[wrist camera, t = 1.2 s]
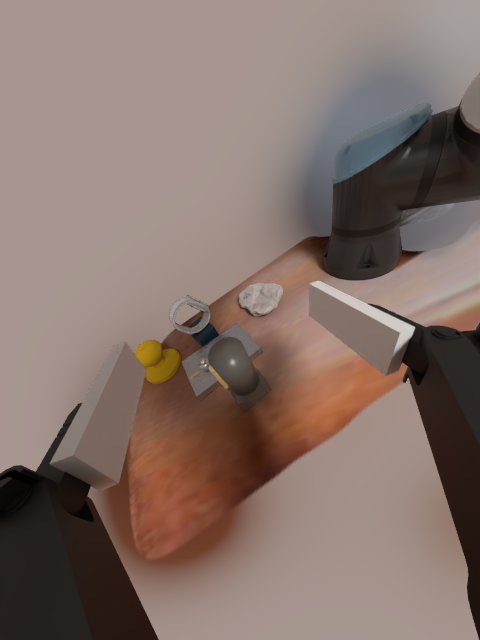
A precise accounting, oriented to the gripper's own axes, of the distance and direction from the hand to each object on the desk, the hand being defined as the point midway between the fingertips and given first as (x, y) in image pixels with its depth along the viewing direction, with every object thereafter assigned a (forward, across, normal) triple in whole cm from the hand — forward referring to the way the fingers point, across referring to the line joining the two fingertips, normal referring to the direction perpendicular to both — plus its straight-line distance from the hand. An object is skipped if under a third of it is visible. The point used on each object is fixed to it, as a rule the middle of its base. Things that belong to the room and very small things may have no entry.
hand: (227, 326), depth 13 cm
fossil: (+25, +11, -14) cm, 31 cm away
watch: (+25, -4, -17) cm, 30 cm away
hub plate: (+17, -2, -18) cm, 25 cm away
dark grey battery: (+9, +1, -19) cm, 21 cm away
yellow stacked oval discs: (+22, -15, -19) cm, 33 cm away
